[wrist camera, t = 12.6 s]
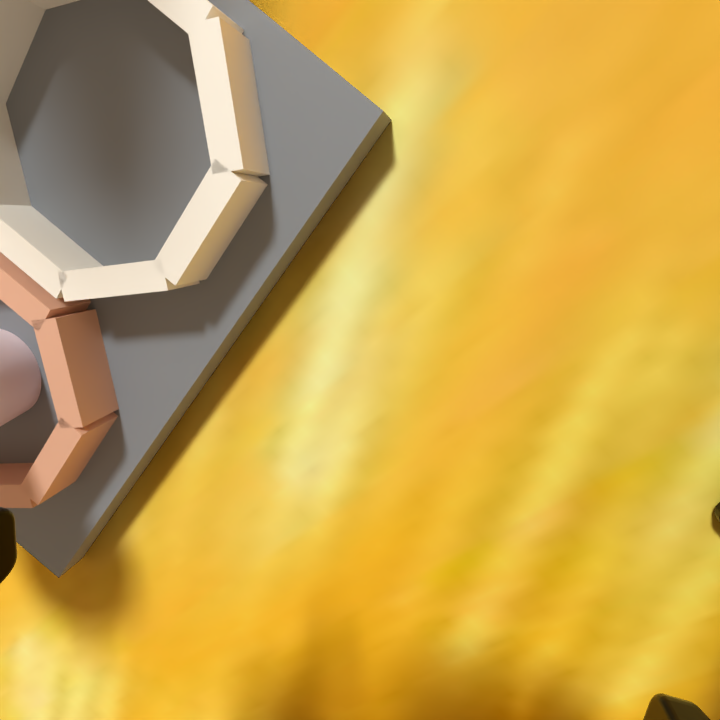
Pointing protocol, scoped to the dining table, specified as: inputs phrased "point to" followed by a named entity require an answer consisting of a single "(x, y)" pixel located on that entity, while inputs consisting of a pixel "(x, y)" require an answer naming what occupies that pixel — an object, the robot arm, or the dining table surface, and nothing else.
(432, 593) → the dining table surface
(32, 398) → the smoothie
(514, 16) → the dining table surface
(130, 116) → the board
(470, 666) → the dining table surface
